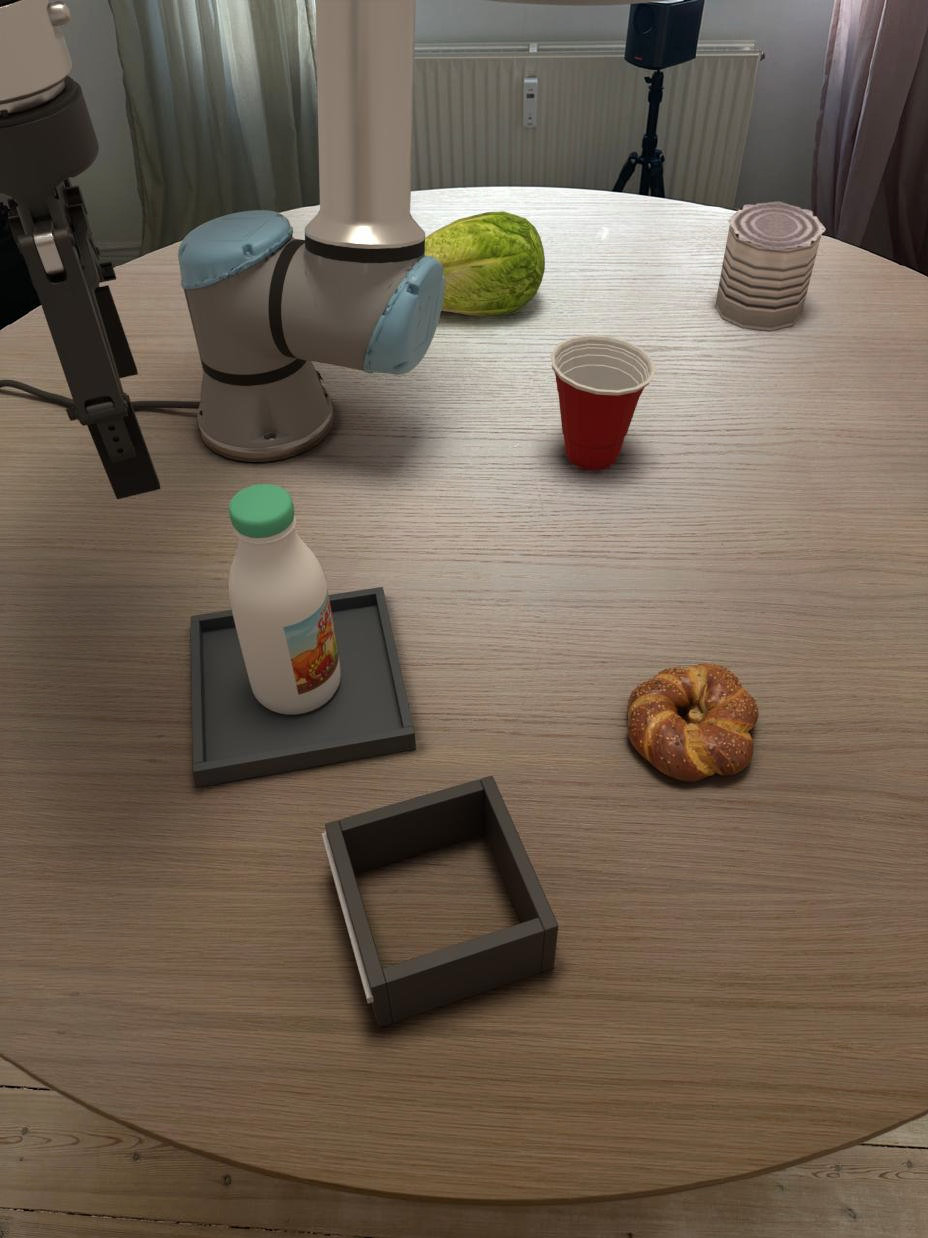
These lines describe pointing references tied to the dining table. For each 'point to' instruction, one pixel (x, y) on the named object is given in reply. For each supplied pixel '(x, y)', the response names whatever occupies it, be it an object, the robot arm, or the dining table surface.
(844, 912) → the dining table surface
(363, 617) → the tray
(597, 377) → the plastic cup
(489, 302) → the lettuce
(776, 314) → the can
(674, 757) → the pretzel
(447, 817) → the collar base
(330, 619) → the milk bottle
